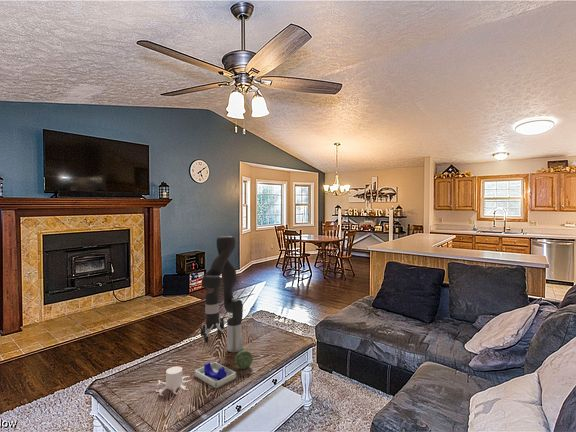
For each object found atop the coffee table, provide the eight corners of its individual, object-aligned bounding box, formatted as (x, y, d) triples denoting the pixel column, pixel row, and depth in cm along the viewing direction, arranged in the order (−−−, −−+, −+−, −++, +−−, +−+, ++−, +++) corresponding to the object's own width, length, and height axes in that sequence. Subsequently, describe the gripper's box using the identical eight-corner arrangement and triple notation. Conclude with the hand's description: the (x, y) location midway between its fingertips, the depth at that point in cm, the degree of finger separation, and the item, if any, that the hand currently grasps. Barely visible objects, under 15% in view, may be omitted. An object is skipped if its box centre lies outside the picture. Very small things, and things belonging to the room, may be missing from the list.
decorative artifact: (251, 365, 187) (251, 348, 186) (254, 370, 180) (254, 353, 180) (234, 368, 183) (234, 351, 183) (237, 374, 176) (237, 356, 176)
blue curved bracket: (226, 377, 172) (226, 366, 172) (220, 381, 168) (220, 369, 168) (210, 371, 178) (210, 361, 178) (204, 375, 174) (204, 364, 174)
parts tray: (215, 366, 185) (215, 361, 185) (236, 378, 172) (236, 372, 172) (194, 375, 175) (194, 370, 175) (215, 388, 162) (215, 383, 162)
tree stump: (198, 375, 175) (198, 361, 175) (185, 396, 156) (185, 380, 156) (163, 375, 176) (163, 360, 176) (146, 395, 157) (145, 379, 157)
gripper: (218, 306, 184) (219, 334, 184) (197, 313, 173) (198, 342, 173) (226, 309, 179) (227, 337, 179) (205, 316, 168) (206, 346, 168)
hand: (212, 339), depth 176 cm, fingers open, 8 cm apart
